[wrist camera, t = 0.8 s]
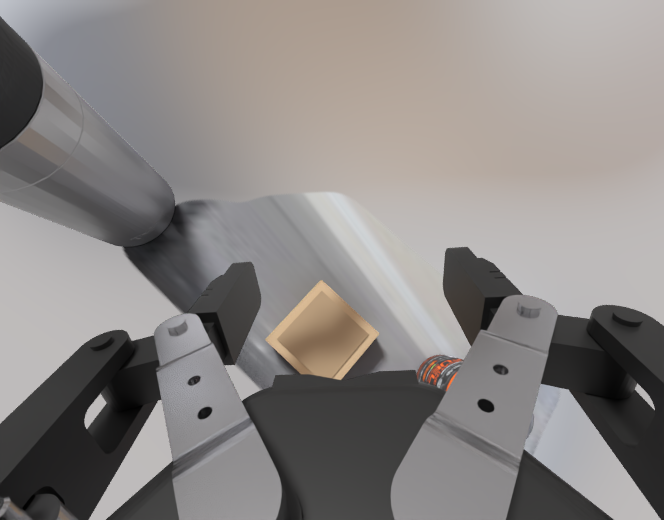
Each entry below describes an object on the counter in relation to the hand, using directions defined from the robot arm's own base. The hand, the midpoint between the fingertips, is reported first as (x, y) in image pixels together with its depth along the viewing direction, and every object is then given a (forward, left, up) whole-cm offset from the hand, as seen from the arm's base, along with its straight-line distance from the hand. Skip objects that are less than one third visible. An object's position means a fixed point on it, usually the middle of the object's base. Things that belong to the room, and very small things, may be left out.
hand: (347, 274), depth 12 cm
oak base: (+3, -3, -21) cm, 21 cm away
